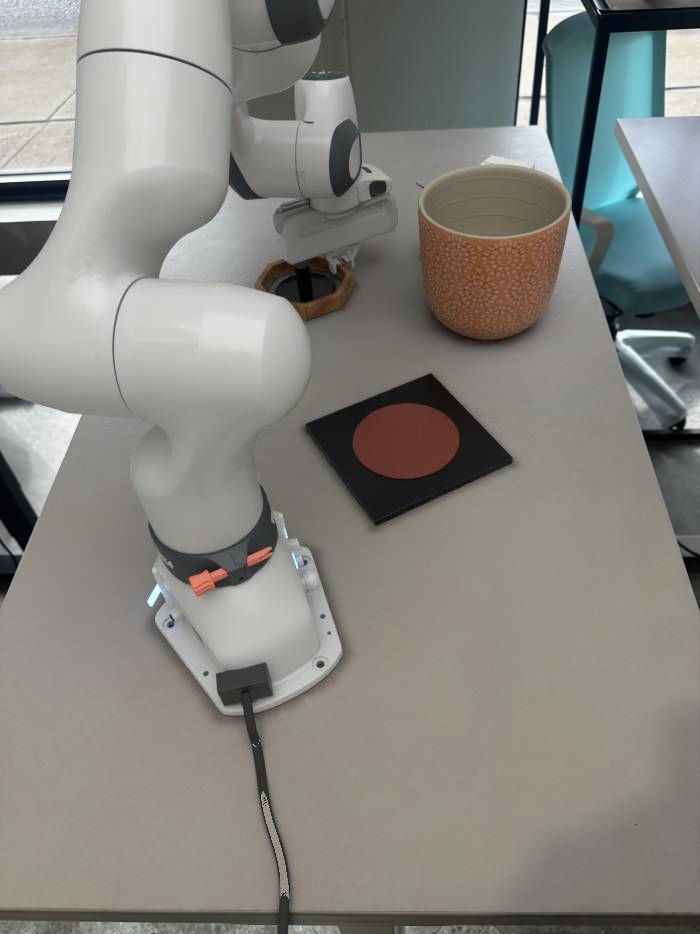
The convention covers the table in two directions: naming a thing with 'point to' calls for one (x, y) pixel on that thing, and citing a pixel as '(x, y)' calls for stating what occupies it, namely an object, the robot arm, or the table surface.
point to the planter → (492, 247)
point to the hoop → (318, 305)
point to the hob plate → (406, 447)
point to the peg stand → (305, 285)
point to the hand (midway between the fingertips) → (342, 269)
